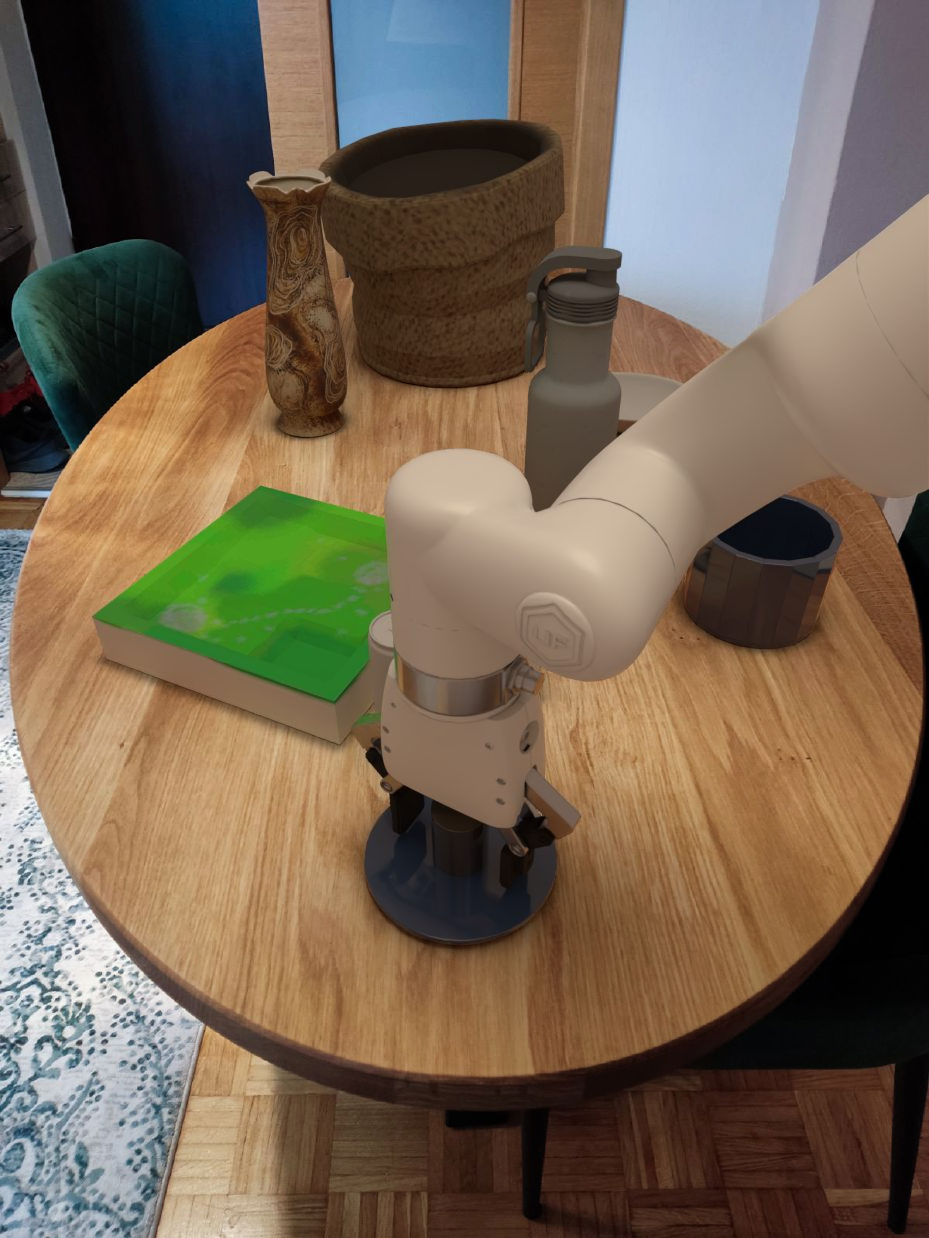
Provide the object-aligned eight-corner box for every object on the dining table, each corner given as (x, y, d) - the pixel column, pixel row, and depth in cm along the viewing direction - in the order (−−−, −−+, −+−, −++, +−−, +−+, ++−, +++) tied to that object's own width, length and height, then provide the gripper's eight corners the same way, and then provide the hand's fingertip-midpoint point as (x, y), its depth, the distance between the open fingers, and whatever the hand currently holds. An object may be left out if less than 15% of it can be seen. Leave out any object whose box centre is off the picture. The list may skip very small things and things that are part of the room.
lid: (587, 835, 65) (595, 780, 61) (497, 986, 56) (499, 933, 52) (431, 763, 70) (429, 709, 67) (326, 891, 61) (316, 836, 58)
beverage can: (402, 711, 75) (395, 599, 68) (447, 735, 73) (445, 622, 65) (365, 744, 72) (353, 632, 65) (411, 770, 70) (404, 657, 62)
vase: (262, 415, 119) (224, 173, 100) (335, 398, 123) (312, 163, 105) (290, 447, 112) (255, 193, 93) (366, 428, 116) (347, 181, 97)
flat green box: (266, 524, 98) (260, 485, 95) (469, 581, 90) (469, 540, 86) (106, 658, 80) (91, 616, 77) (340, 744, 72) (334, 700, 69)
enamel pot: (829, 593, 88) (855, 512, 82) (797, 665, 80) (823, 581, 74) (707, 556, 93) (724, 477, 87) (664, 620, 85) (679, 538, 79)
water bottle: (509, 518, 99) (519, 261, 81) (531, 477, 106) (544, 233, 89) (598, 534, 96) (628, 272, 79) (615, 490, 104) (645, 242, 86)
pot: (368, 304, 153) (354, 107, 134) (567, 317, 148) (582, 114, 129) (300, 387, 126) (271, 156, 108) (540, 407, 121) (553, 168, 102)
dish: (557, 452, 111) (560, 416, 108) (560, 403, 122) (563, 368, 119) (699, 460, 109) (706, 423, 106) (689, 409, 120) (695, 375, 117)
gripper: (624, 673, 50) (595, 860, 61) (374, 581, 57) (389, 763, 68) (567, 759, 45) (547, 945, 56) (300, 646, 52) (329, 831, 63)
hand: (460, 844), depth 62 cm, fingers open, 8 cm apart
